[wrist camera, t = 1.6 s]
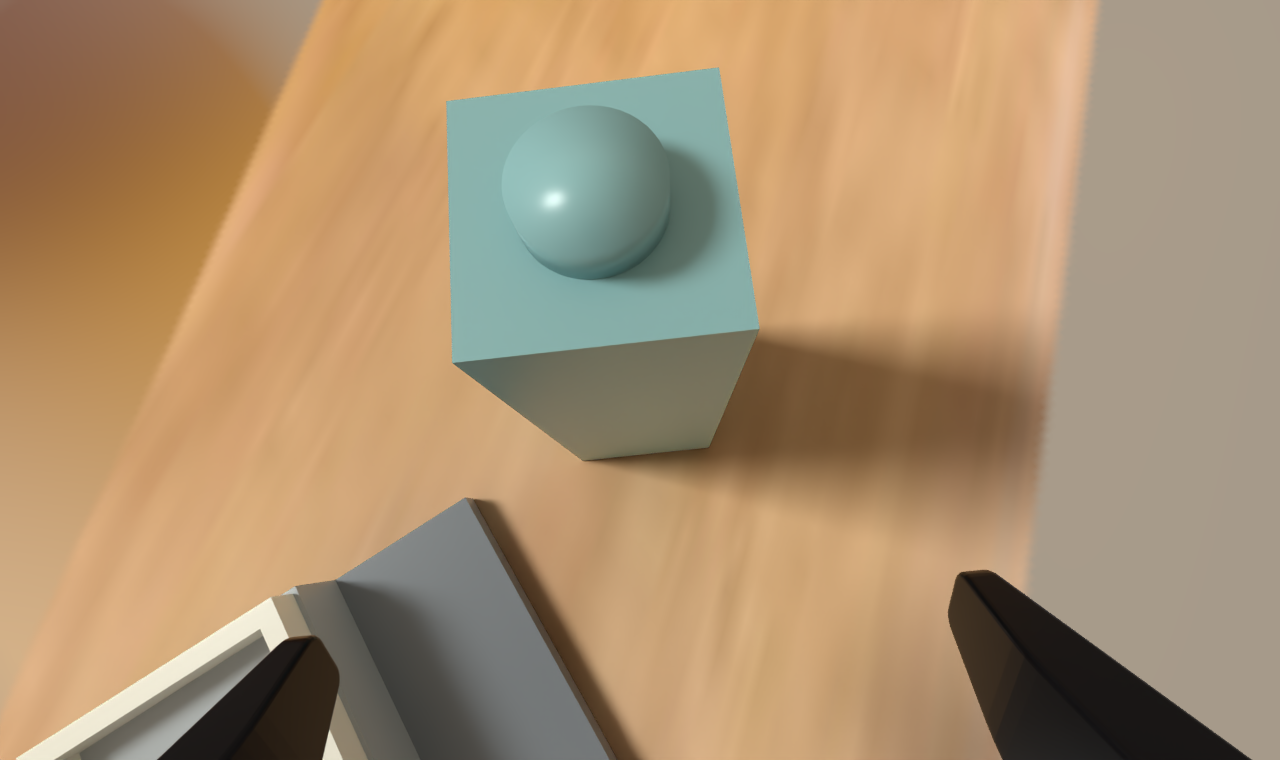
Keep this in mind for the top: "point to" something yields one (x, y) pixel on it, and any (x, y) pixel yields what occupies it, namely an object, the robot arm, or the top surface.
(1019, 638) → the robot arm
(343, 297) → the top surface
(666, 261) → the pillar
